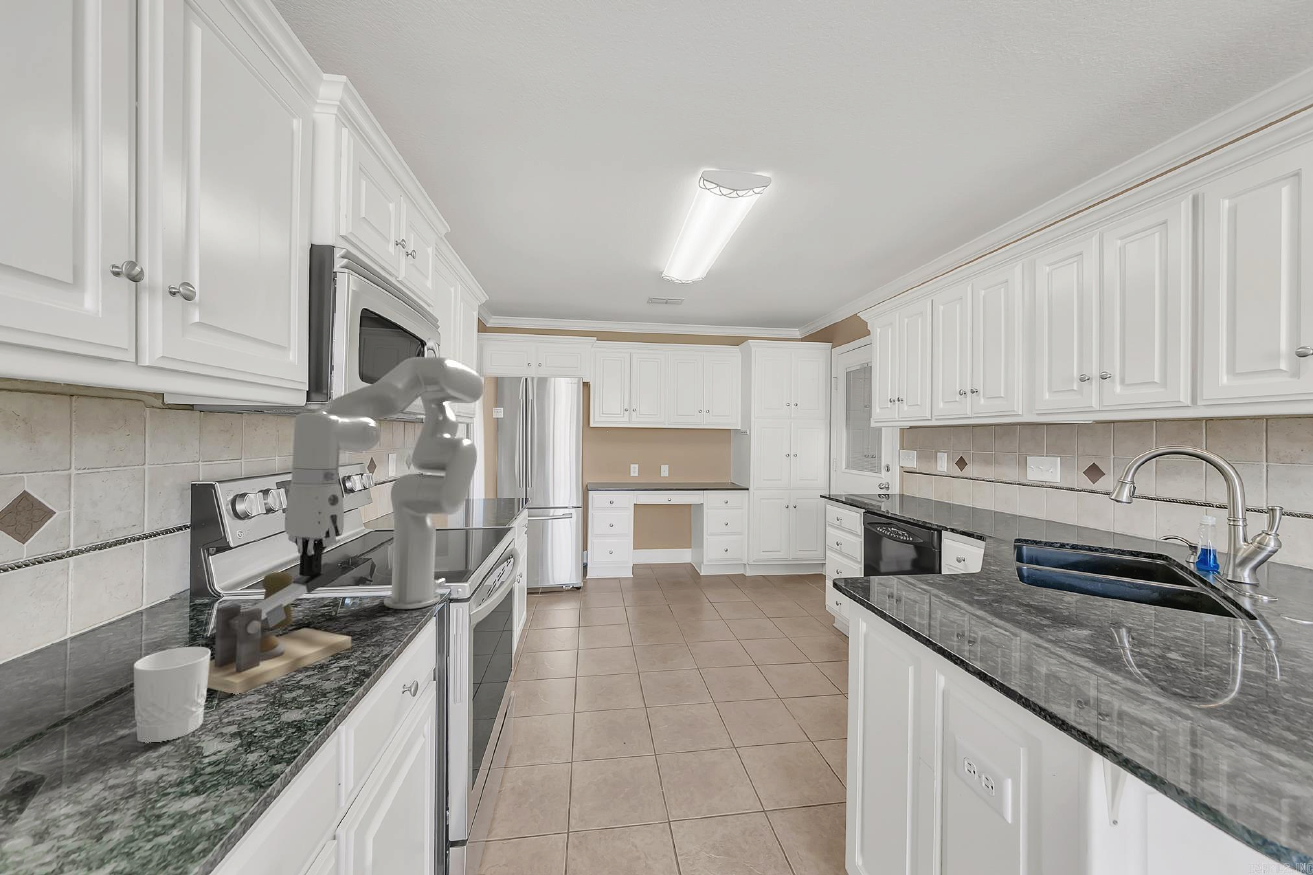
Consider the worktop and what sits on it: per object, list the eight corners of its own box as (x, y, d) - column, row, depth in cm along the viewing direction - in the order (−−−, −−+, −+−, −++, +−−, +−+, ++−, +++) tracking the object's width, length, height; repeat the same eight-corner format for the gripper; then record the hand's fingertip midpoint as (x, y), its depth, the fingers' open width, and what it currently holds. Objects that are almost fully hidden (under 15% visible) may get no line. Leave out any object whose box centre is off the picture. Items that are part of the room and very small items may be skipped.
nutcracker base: (304, 637, 107) (307, 580, 107) (350, 647, 104) (353, 587, 104) (184, 681, 87) (187, 611, 87) (236, 694, 84) (239, 621, 84)
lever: (329, 580, 108) (325, 562, 107) (343, 582, 107) (339, 564, 105) (233, 639, 90) (226, 619, 89) (248, 642, 89) (241, 622, 88)
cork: (274, 630, 110) (277, 577, 110) (250, 627, 112) (252, 574, 112) (299, 621, 116) (301, 570, 116) (276, 618, 118) (278, 568, 118)
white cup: (128, 729, 73) (131, 656, 73) (203, 709, 79) (206, 642, 79) (132, 753, 68) (136, 675, 68) (212, 730, 74) (215, 658, 74)
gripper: (362, 479, 103) (357, 574, 103) (304, 474, 108) (299, 566, 107) (327, 481, 96) (322, 583, 96) (267, 476, 101) (261, 574, 100)
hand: (310, 574), depth 101 cm, fingers closed
